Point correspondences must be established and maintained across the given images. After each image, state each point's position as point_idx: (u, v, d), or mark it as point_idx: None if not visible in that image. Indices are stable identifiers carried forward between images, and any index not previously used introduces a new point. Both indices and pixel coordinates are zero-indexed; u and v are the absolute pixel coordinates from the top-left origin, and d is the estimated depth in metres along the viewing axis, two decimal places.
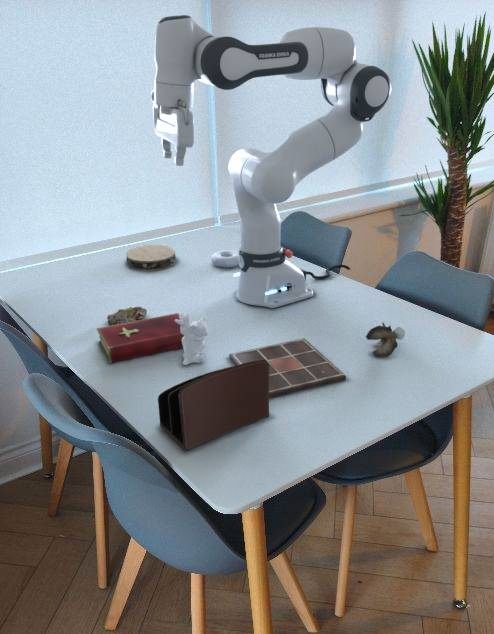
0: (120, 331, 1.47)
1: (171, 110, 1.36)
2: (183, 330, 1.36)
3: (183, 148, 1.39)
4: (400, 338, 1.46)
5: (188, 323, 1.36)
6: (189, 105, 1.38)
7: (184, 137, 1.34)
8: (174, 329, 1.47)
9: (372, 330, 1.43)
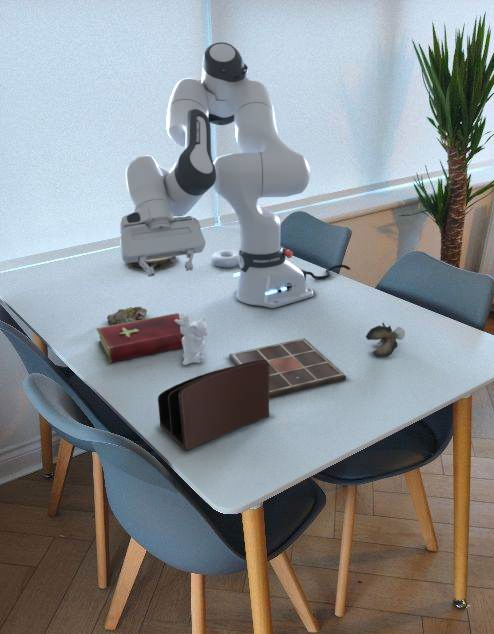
0: (120, 331, 1.46)
1: (174, 223, 1.45)
2: (183, 330, 1.36)
3: None
4: (400, 338, 1.46)
5: (188, 323, 1.36)
6: None
7: None
8: (174, 329, 1.47)
9: (372, 330, 1.43)
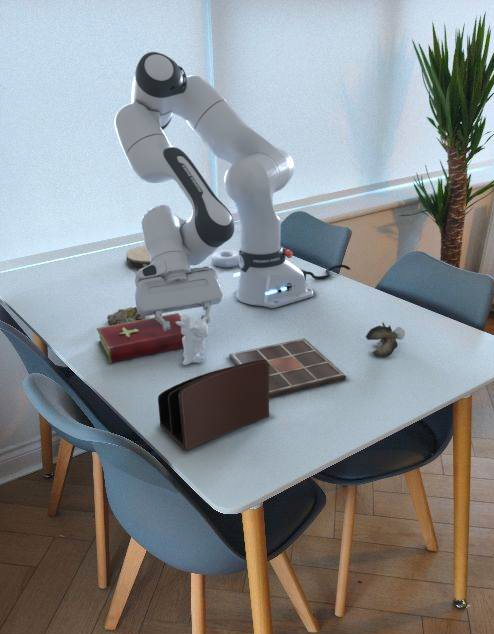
0: (120, 331, 1.46)
1: (191, 275, 1.41)
2: (184, 331, 1.36)
3: None
4: (400, 338, 1.46)
5: (189, 324, 1.35)
6: None
7: None
8: (174, 329, 1.47)
9: (372, 330, 1.43)
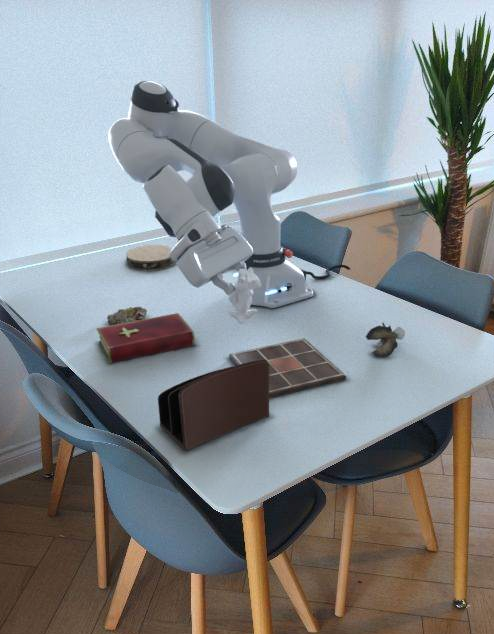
0: (120, 331, 1.46)
1: (221, 234, 1.30)
2: (244, 287, 1.26)
3: None
4: (400, 338, 1.46)
5: (247, 278, 1.26)
6: None
7: None
8: (174, 329, 1.47)
9: (372, 330, 1.43)
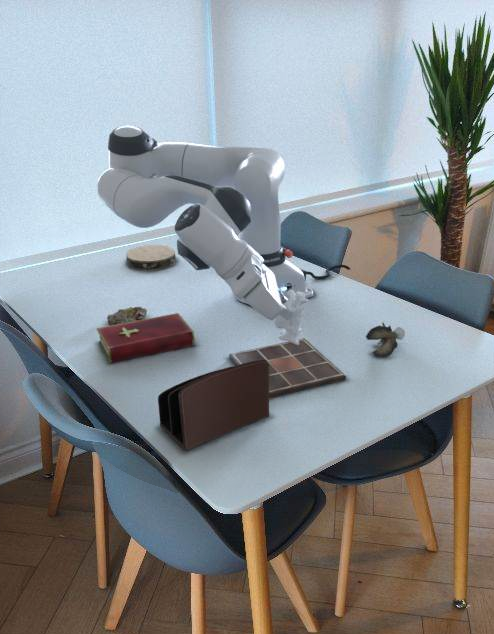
0: (120, 331, 1.46)
1: None
2: (302, 308, 1.29)
3: None
4: (400, 338, 1.46)
5: None
6: None
7: None
8: (174, 329, 1.47)
9: (372, 330, 1.43)
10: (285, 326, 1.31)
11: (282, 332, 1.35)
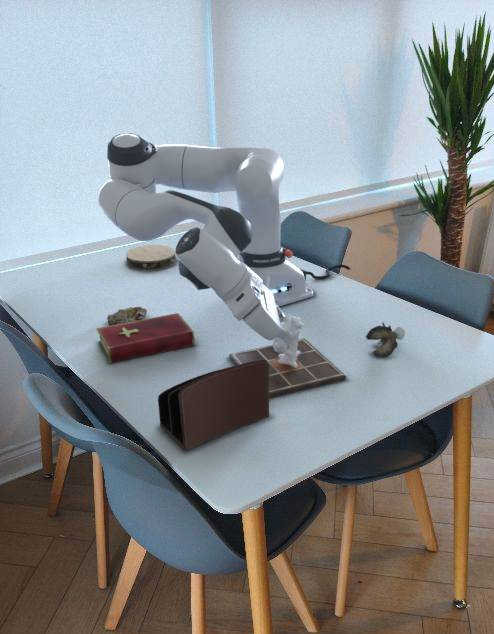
0: (120, 331, 1.46)
1: None
2: (298, 332, 1.32)
3: None
4: (400, 338, 1.46)
5: None
6: None
7: None
8: (174, 329, 1.47)
9: (372, 330, 1.43)
10: (283, 350, 1.35)
11: (281, 355, 1.39)
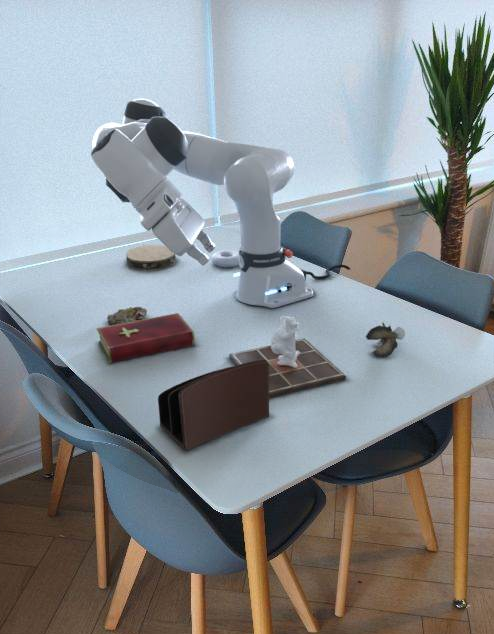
0: (120, 331, 1.46)
1: None
2: (294, 332, 1.32)
3: None
4: (400, 338, 1.46)
5: None
6: None
7: None
8: (174, 329, 1.47)
9: (372, 330, 1.43)
10: (281, 351, 1.35)
11: (280, 357, 1.39)
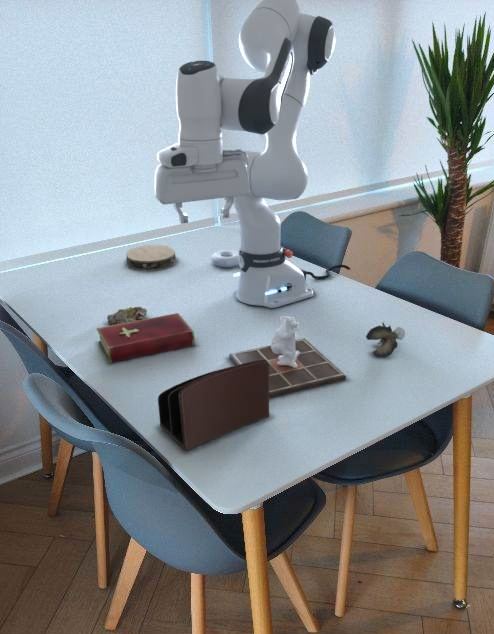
0: (120, 331, 1.46)
1: (222, 164, 1.25)
2: (294, 332, 1.32)
3: None
4: (400, 338, 1.46)
5: None
6: None
7: None
8: (174, 329, 1.47)
9: (372, 330, 1.43)
10: (281, 351, 1.35)
11: (280, 357, 1.39)
